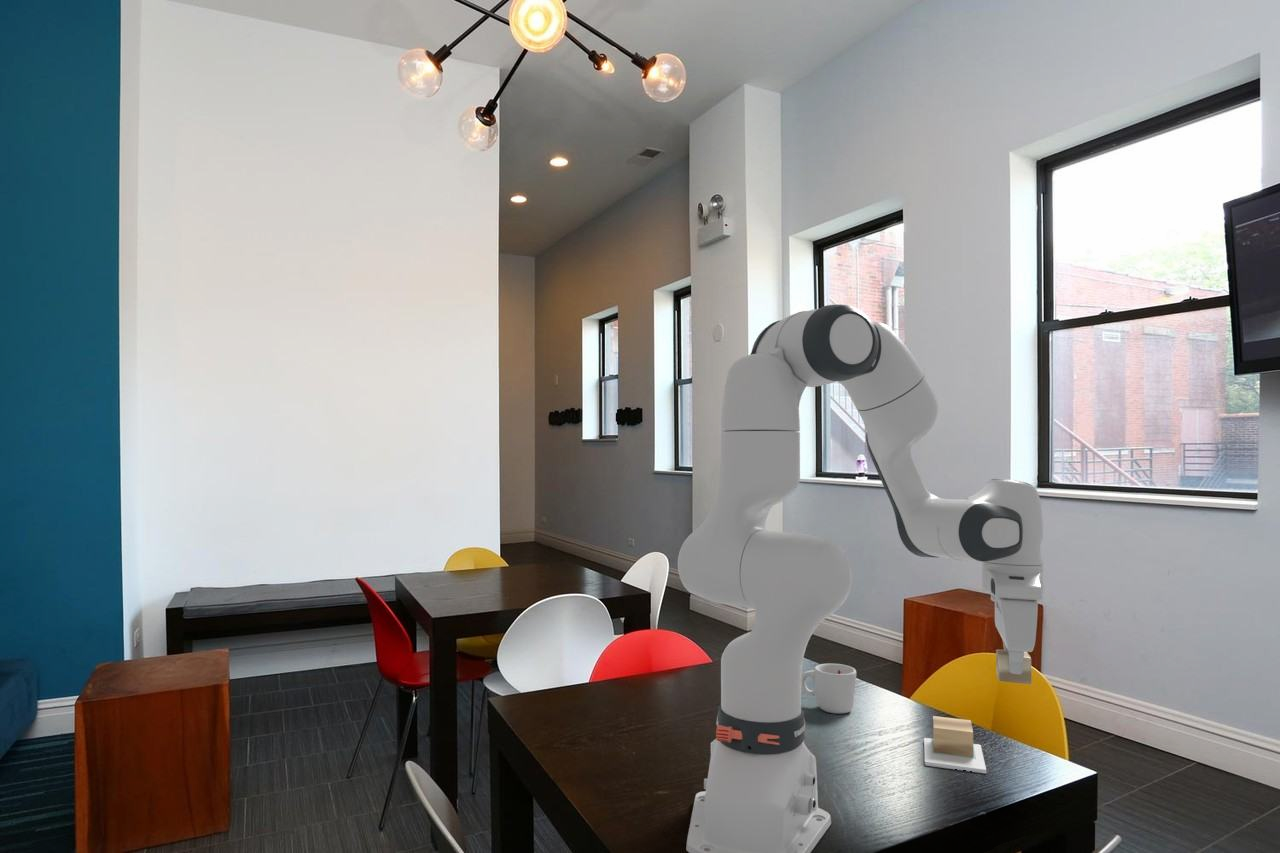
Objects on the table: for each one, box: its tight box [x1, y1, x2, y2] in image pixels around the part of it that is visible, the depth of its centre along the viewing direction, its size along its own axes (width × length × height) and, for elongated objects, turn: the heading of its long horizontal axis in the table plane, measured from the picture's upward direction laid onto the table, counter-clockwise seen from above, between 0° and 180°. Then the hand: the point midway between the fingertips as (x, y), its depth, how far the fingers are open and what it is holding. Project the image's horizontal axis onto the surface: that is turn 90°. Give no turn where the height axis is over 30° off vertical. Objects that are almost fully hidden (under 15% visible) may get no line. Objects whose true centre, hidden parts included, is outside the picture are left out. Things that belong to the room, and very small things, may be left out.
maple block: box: [995, 648, 1032, 685], centre depth 119 cm, size 4×4×4 cm
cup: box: [801, 663, 857, 715], centre depth 147 cm, size 11×8×8 cm
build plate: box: [923, 737, 987, 774], centre depth 123 cm, size 11×9×1 cm
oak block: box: [932, 715, 974, 757], centre depth 125 cm, size 6×6×4 cm
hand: (1013, 668), depth 119 cm, fingers closed on maple block, 4 cm apart
